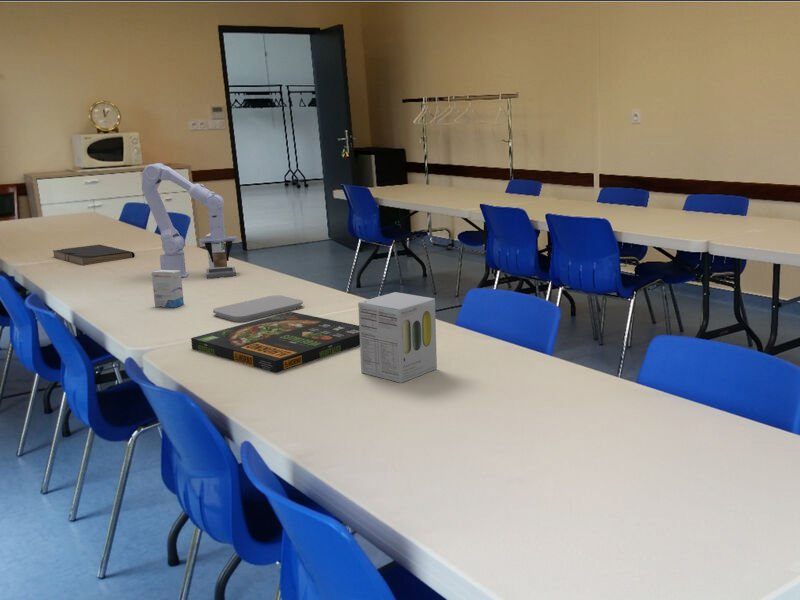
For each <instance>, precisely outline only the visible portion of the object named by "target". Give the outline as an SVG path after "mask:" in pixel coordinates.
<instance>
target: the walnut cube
mask: <svg viewBox="0 0 800 600" xmlns="http://www.w3.org/2000/svg"><path fill="white" fill-rule="evenodd" d="M213 262H214V268H215V267H225V268H227V267H228V261H227V258H226V251H225V252H216V253H213Z"/></svg>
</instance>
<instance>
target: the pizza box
mask: <svg viewBox="0 0 800 600" xmlns="http://www.w3.org/2000/svg"><path fill="white" fill-rule="evenodd" d="M190 340H191V341H190V342H191V349H192V350H194V351H199V352H201V353H202V352H203V353H206V354H209V355H212V356H215V357H216V356H217V357H219V358H223V359H227V360H230V361H234V362H237V363H241V364H244V365H247V366H251V367H254V368H258V369H261V370H265V371H268V372H271V373H275V374H277V373H281V372H284V371H286V370H289V369H293V368H296V367H299V366H301V365H305V364H307V363H310V362H313V361H317V360H319V359H322V358H326V357H328V356H332V355H335V354H337V353H340V352H344V351H346V350H349V349H353V348H356V347H358V346H359V347H360V332H359V324H358V325H357V324H353V323H348V322H344V321H338V320H334V319H329V318H325V317H320V316H314V315H313V316H312V315H309V314H303V313H299V312H293V311H286V312H282V313H279V314H275V315H271V316H267V317H266V318H262V319H261V318H260V319H258V320H255V321H253V320H252V321H250V322H246V323H243V324H239V325H235V326H232V327H227V328H225V329H220V330H216V331H214V332H210V333H206V334H202V335H198V336H193V337H191V338H190Z"/></svg>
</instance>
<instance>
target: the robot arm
mask: <svg viewBox="0 0 800 600" xmlns="http://www.w3.org/2000/svg"><path fill="white" fill-rule="evenodd" d="M141 175H142V179H141V180H142V182H141V191H142V193H143V195H144V198H145V200H146V202H147V204H148V207H149V210H150V212H151V213H152V216H153V218H154V220H155V222H156V224H157V226H158V229H159V232H160V240H161V247H162V250H163V252H164V254H160V255H159V263H160V270H180V271H181V278H187V277H188V272H187V271H186V269H187V268H186V259H185V251H184V248H185V246H186V241H185V238H184V237H183V236H182V235H180V233H179V231H178V230H177V229H176V227H174V225H173V223H172V220H171V218H170V216H169V213H168V212H167V208H166V207H165V204H164V202H163V199H162V198H161V195H160V194H159V193H160V192H159V191H158V188H159V186H160V184H161V182H163V181H170V182H172V183H174V184H176V185H177V186H179V187H180V188H182V189H183V190H186V191H187V192H188V193H189V197H191V198H193V199H194V200H196V201H197V202H199V203H200V204H202V205H203V206H205V208H206V209H207V210H208V224H209V233H210V237H211V238H199V239H198V243H199V245H204V246H205V249H206V251H207V253H208V252H209V254H210V257H211V260H212V262H213V254H212V244H211V243H223V242H224V243H225V252H226V258H227V262H229V261H230V260H229V259H230V252H231V250H232V247H233V243H237V242H238V241H239V239H238V236H236V235H235V236H226V227H225V226H226V225H225V214H224V206H225V199H224V197H222V196H221V195H220V194H218V193H217V194H215V193H216V192H215V191H211V190H209V189H207V188H206V187H205V185H204V184H203V183H192V182H191V181H190V180H189V179H187V178H185V177H184V176H183V175H181V174H180V173H178V172H177V171H175V170H174V169H173V168H172V167H170V166H168V165H165V164H164V163H162V162H156V163H150V164H147V165H146V166H145V167H144V169H143V171H142V172H141ZM214 241H216V242H214Z"/></svg>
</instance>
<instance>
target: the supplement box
mask: <svg viewBox="0 0 800 600" xmlns="http://www.w3.org/2000/svg"><path fill="white" fill-rule="evenodd" d="M357 304H358V306H357V307H358V326H359V332H360V345H359V347H360V348H359V353H360V372H361V373H362V374H366V375H369V376H373V377H378V378H381V379H385V380H388V381H392V382H396V383H399V384H402V383H405V382H407V381H410V380H413V379H414V378H415V379H416V378H417V377H419V376H422V375H425V374H428V373H430V372H433V371H435V370H437V368H438V364H437V363H438V362H437V328H436V327H437V323H436V322H437V321H436V298H434V297H428V296H421V295H415V294H410V293H403V292H397V291H394V292H390V293H386V294H384V295H379V296H375V297H373V298H369V299H366V300H365V299H364V300H362V301H359V302H357Z"/></svg>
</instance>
